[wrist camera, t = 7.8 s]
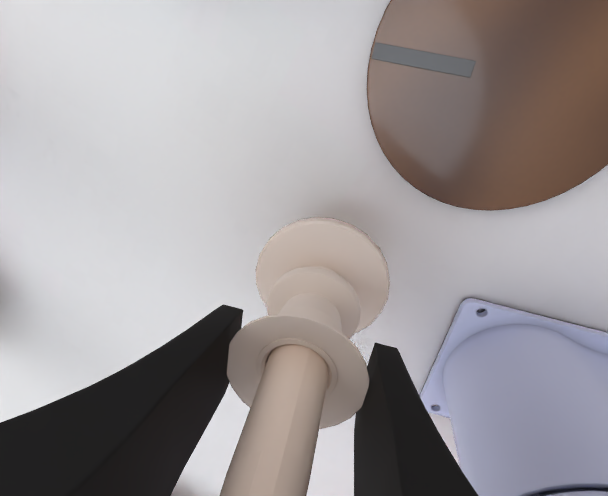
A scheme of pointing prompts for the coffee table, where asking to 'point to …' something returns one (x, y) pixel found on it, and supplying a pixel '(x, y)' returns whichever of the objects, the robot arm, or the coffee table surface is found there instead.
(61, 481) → the robot arm
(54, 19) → the coffee table surface
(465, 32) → the coaster
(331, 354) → the candle
